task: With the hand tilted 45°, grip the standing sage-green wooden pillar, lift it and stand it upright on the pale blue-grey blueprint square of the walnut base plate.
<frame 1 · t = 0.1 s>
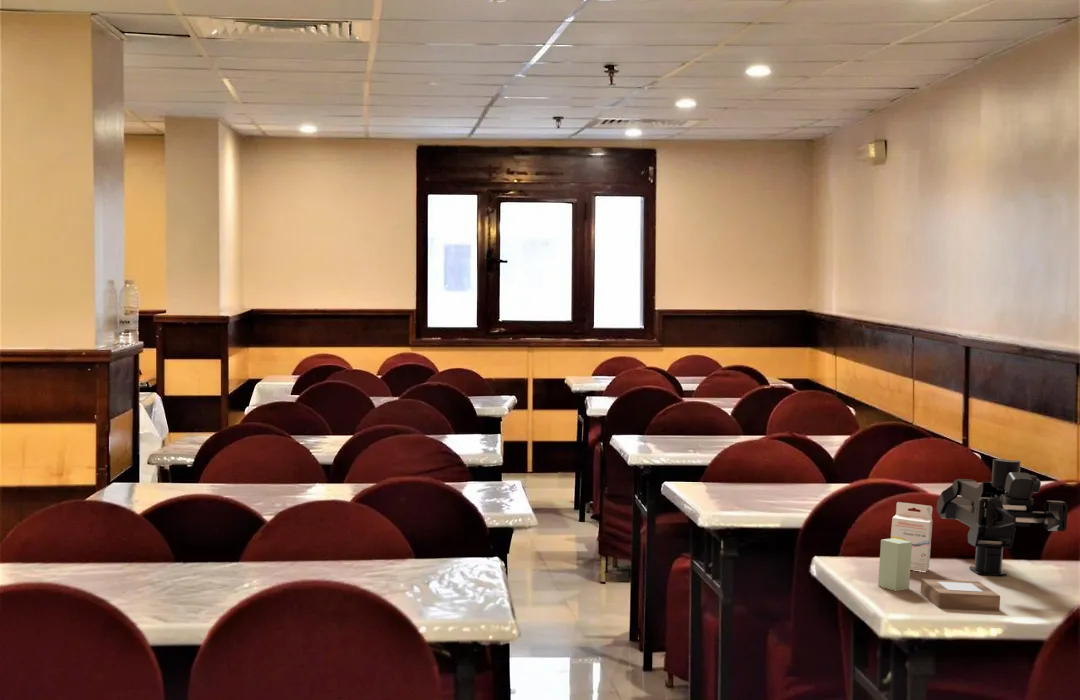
hand: (1036, 521, 250), 17 cm above the table, tool horizontal, fingers open, 9 cm apart
ink cartridge box: (908, 569, 276), on the table
walnut base plate: (958, 601, 247), on the table
sage pillar: (893, 587, 257), on the table
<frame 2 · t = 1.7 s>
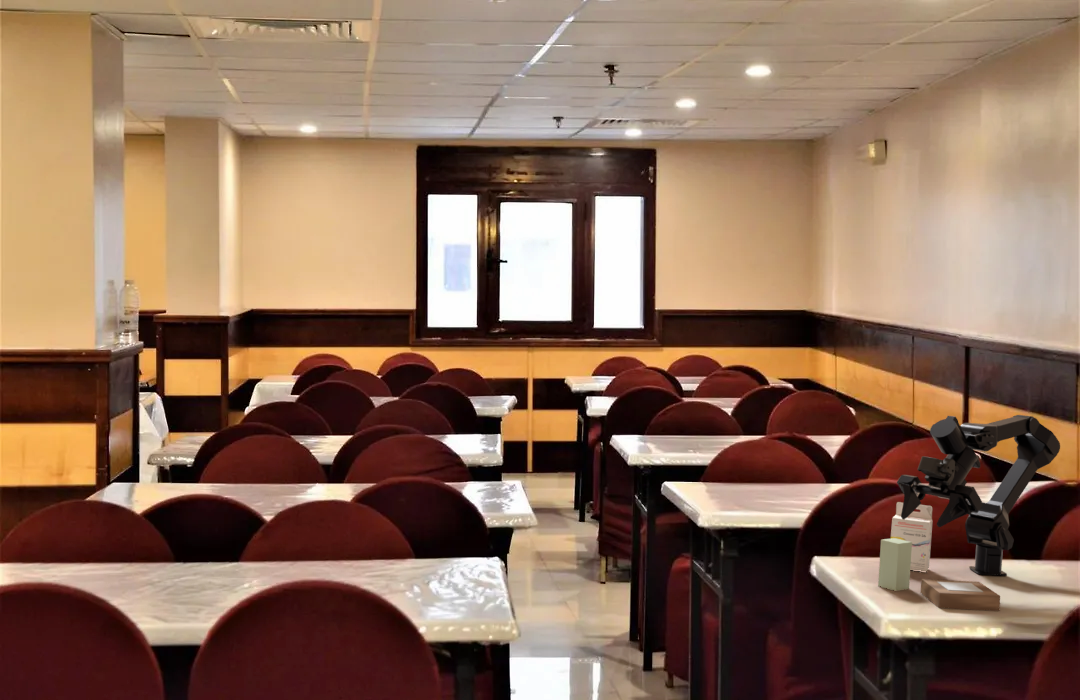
hand: (919, 521, 261), 13 cm above the table, tool tilted 45°, fingers open, 9 cm apart
nothing on the table moved.
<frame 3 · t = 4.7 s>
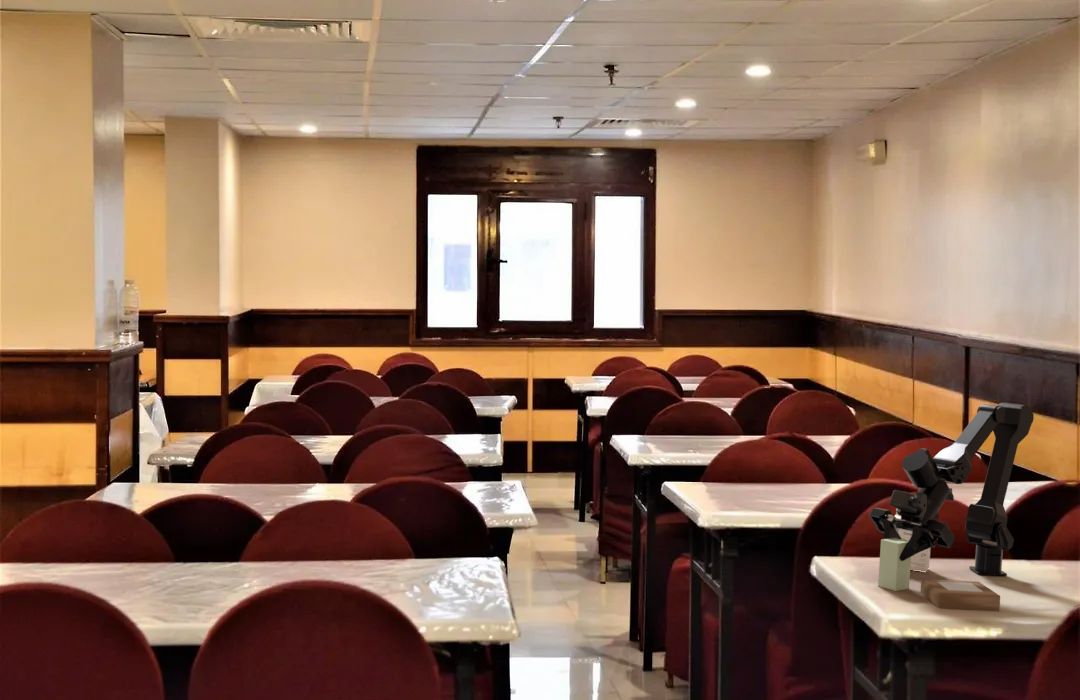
hand: (891, 557, 256), 7 cm above the table, tool tilted 45°, fingers closed on sage pillar, 4 cm apart
sage pillar: (893, 587, 257), on the table, touching gripper
everything else where it was.
when the fingers open (11 cm above the table, at t = 9.7 s): sage pillar drops 1 cm, resting on walnut base plate.
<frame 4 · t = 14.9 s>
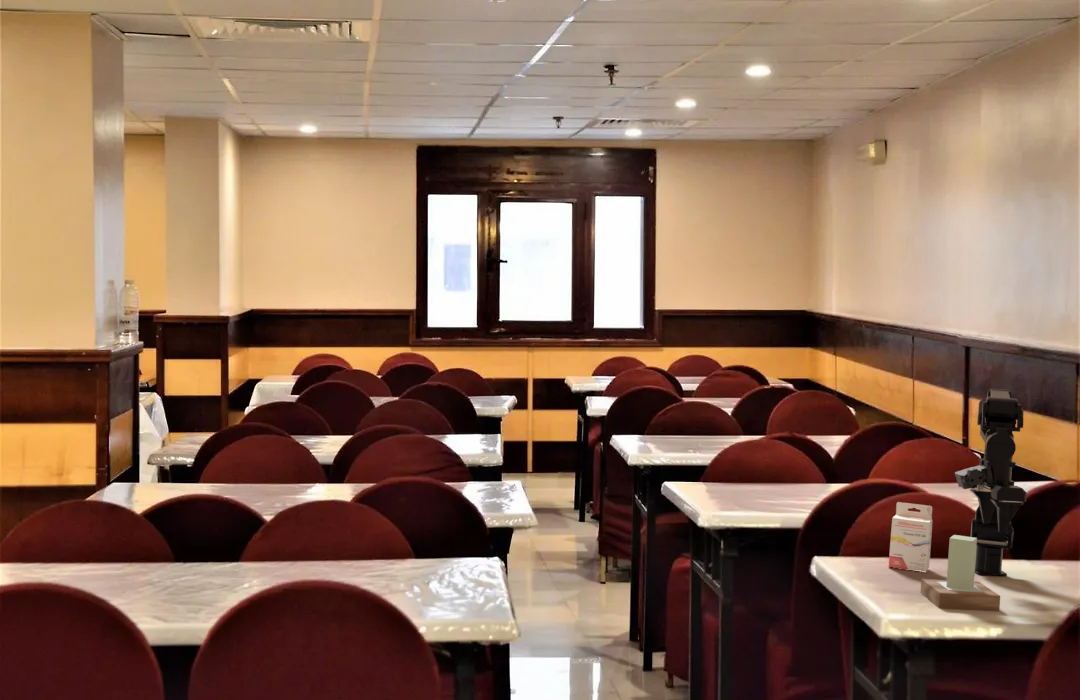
hand: (993, 527, 261), 13 cm above the table, tool pointing down, fingers open, 9 cm apart
sage pillar: (960, 586, 247), point 3 cm above the table, touching walnut base plate
everything else where it was.
at the end: sage pillar inside the target area on the walnut base plate (0.0 cm from its centre), point 3.1 cm above the walnut base plate's base; sage pillar tilted 0°; the gripper is holding nothing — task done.
